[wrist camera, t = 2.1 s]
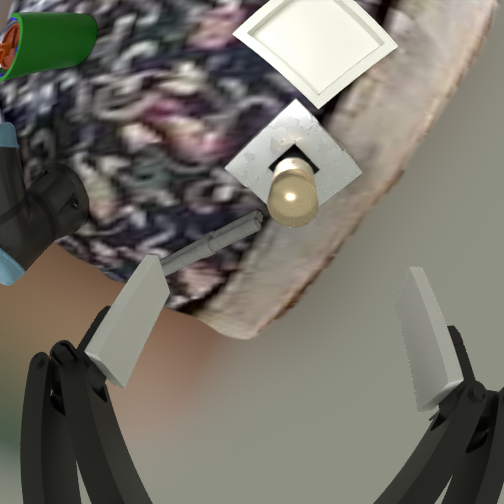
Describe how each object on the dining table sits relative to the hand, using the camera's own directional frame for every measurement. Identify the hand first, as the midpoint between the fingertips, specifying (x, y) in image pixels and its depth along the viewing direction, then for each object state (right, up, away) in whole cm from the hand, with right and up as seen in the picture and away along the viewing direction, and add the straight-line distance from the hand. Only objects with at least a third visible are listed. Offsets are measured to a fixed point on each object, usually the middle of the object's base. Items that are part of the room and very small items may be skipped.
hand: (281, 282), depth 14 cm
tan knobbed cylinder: (+4, +15, +22) cm, 27 cm away
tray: (+7, +28, +12) cm, 31 cm away
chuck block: (+4, +15, +22) cm, 27 cm away
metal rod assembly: (-10, +3, +34) cm, 35 cm away
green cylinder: (-30, +36, +13) cm, 49 cm away
